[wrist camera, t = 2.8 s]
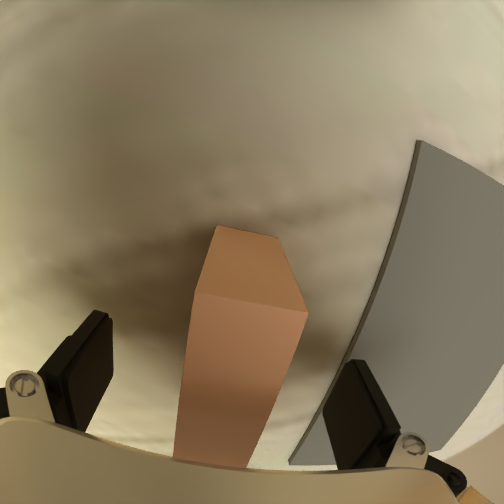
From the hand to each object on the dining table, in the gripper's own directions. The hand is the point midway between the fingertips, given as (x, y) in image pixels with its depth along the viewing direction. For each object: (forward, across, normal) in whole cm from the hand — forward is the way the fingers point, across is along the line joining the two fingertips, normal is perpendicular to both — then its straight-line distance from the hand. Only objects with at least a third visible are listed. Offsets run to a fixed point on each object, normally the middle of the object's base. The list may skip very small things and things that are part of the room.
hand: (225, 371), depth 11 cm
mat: (+2, -13, 0) cm, 13 cm away
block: (+2, 0, 0) cm, 3 cm away
